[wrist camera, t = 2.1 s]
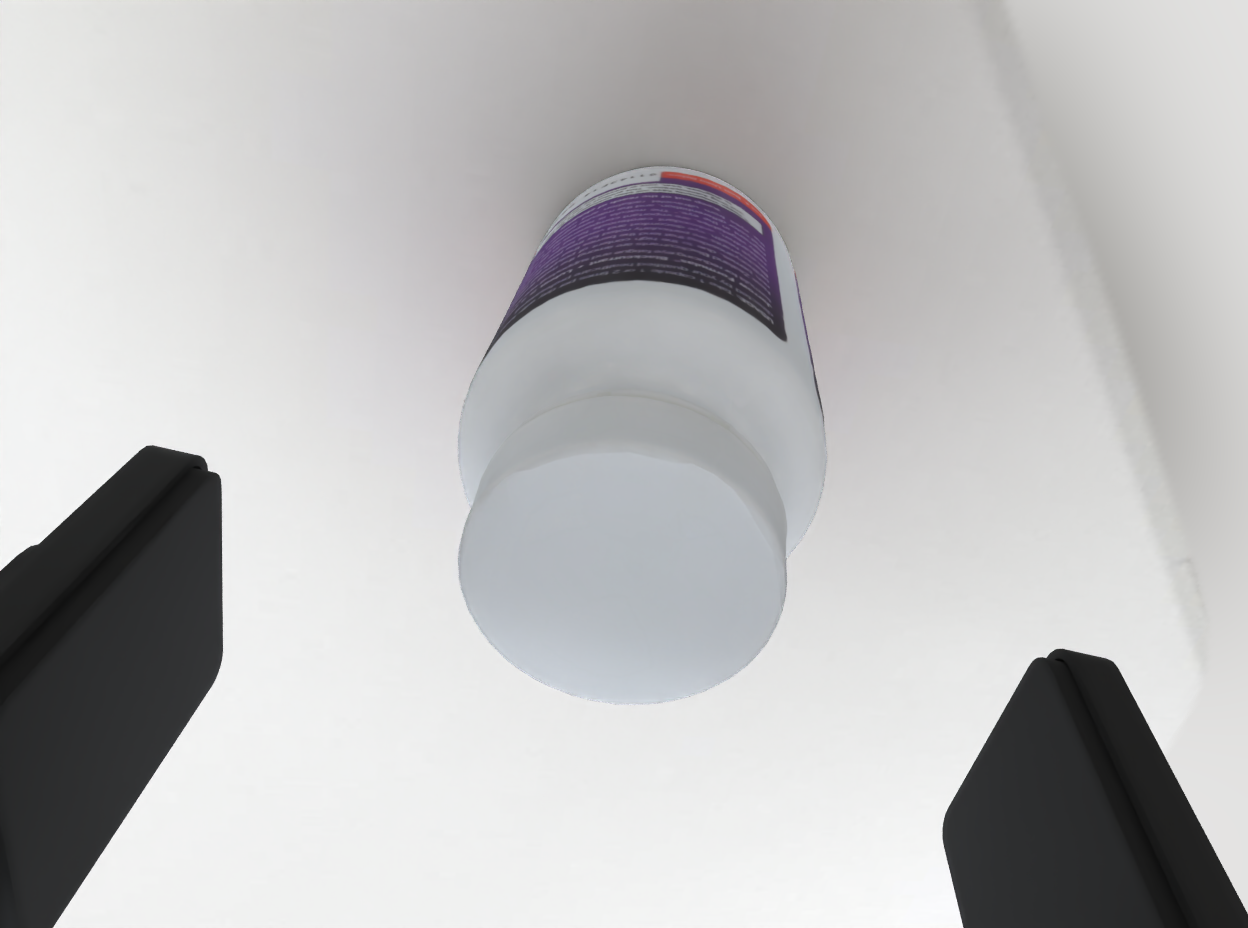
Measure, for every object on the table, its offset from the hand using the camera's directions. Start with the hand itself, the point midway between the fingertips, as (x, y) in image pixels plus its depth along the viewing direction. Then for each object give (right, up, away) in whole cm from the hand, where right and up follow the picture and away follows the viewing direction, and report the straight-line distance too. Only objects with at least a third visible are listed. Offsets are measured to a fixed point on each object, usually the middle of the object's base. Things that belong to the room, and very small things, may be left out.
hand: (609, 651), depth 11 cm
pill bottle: (+1, +6, +9) cm, 11 cm away
